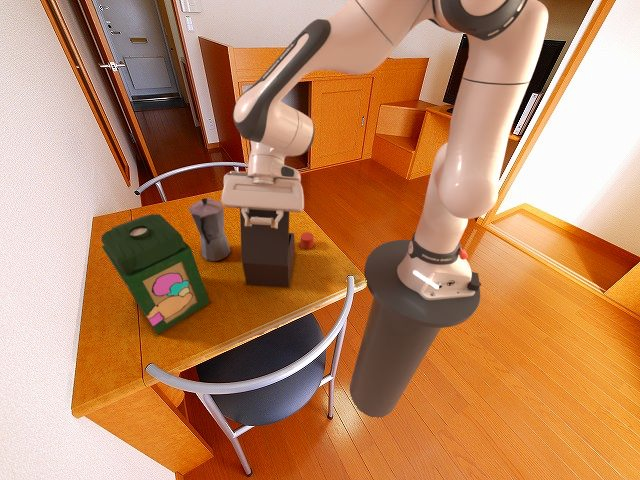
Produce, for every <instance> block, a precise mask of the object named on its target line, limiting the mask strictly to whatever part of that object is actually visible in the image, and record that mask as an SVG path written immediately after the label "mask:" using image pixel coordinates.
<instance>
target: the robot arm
mask: <svg viewBox="0 0 640 480" xmlns="http://www.w3.org/2000/svg"><path fill="white" fill-rule="evenodd" d="M425 20H426V21H427V20H428V21H429V22H431V23H433V24H434V25H435V26H438V27H439V28H440V29H444V30H445V31H448V32H450V33H453V34H465V35H466V36H467V39H468V55H467V57H468V58H467V61H466V64H465V66H464V70H463V74H462V77H461V81H460V84H459V88H458V90H457V91H458V92H457V95H456V99H455V102H454V105H453V109H452V113H451V118H450V122H449V132H448V138H447V142H445V143H444V144H442V145H441V146H440V147H439V148H438V150H437V151H436V154H435V156H434V160H433V164H432V169H431V173H430V176H429V179H428V185H427V189H426V193H425V198H424V202H423V203H424V204H423V208H422V210H421V215H420V218H419V221H418V224H417V228H416V230H415V231H414V233H413V234H412V237H411V239H410V240H411V241H410V244H409V248H408V252H407V254H406V256H405V258H404V259H403V261H402V262H401V263H400V264H399V266H398V268H397V274H398V277H399V279H400V280H401V281H402V283H403V284H405V285H406V286H407V287H408V288H410V289H412V290H414V291H415V292H417V293H419V294H420V295H421V296H422V297H423V298H424V299H426V300H439V299H449V298H459V297H469V296H473V295H474V293H475V291H476V292H477V290H478V289H479V288H480V287H482V283H481V281H480V277H479V273H478V272H475V271H472V269H471V266H470V263H469V262H468V258H469V255H468V253H467V251H466V250H465V249H463V246H462V244H461V242H460V241H461V239H462V237H463V235H464V232H465V230H466V228H467V227H468V222H469V220H471V219H476V218H480V217H482V216H484V215H486V214H487V213H488V212H490V211H492V209H493V208H494V207H495V205H496V204H497V202H498V198H499V185H500V184H499V183H500V176H501V173H502V168H503V164H504V160H505V155H506V152H507V151H506V150H507V146H508V141H509V138H510V134H511V130H512V127H513V124H514V121H515V118H516V116H517V114H518V111H519V109H520V106H521V104H522V102H523V99H524V97H525V95H526V92H527V89H528V87H529V84H530V83H531V82H530V81H531V79H532V77H533V74H534V72H535V69H536V66H537V63H538V61H539V58H540V54H541V51H542V48H543V44H544V40H545V37H546V31H547V27H548V23H549V11H548V9H547V7H546V5H545V4H544V3H542V1H539V0H348V1H347V3H346V4H345V5H344V6H343V7H342V8H340V9H339V10H338V11H337V12H336V13H333V15H331V16H329V17H327V18H325V19H322V18H317V19H314V20H313V21H311V22H310V23H309V24H308V25H307V26H306V27H305V28H303V30H301V32H300V33H298V35H297V36H296V37H295V38H294V39H293V40H292V41H291V42H290V43H289V45H287V47H286V48H285V49H284V50H283V51H282V52H281V53H280V55H279V56H278V57H277V58H276V59H275V60H274V62H273V63H272V64H271V65H270V66H269V67H268V69H267V70H265V72H264V73H263V74H262V75H261V76H260V78H258V79H257V81H256V82H254V83H253V84H252V85H250V86H249V87H248V88H247V89H246V90H244V92H242V94H241V95H240V96H239V97H238V98H237V101H236V102H235V105H234V108H233V111H232V112H233V113H232V119H233V122H234V125H235V128H236V129H237V131H238V133H239V135H240V136H241V137H242V138H243V139H244V140H247V141H250V148H251V149H250V150H251V151H250V154H249V156H248V165H247V171H236V170H230V171H229V172H227V173H226V174H224V176H223V189H222V191H221V198H220V203H221V205H222V206H223V207H225V208H227V209H237V210H238V209H239V210H240V209H241V212H242V214H243V216H244V219H245V227H252V224H251V223H250V219H249V218H248V215H247V213H249V209H254V210H270V211H277V212H276V214H277V215H278V216H277V218H276V219H275V221H271V228H272V229H278V222H279V221H280V219H281V218H282V217H283V211H285V212H289V213H302V212H303V211H304V210H305V195H304V188H303V186H302V183H301V182H302V175H301V173H300V171H299V170H298V169H296V168H294V167H291V166H289V165H286V164H285V159H286V157H298V156H299V157H300V156H302V155H304V154H306V153H307V152H308V151H309V150H310V149H311V148H312V145H313V143H314V139H315V133H316V132H315V131H316V130H315V124H314V121H313V120H312V118H311V117H309V116H308V115H306V114H304V112H301V111H300V110H297V109H296V108H294V107H291V106H290V105H288V104H286V103H285V102H283V101H282V100H283V98H285V97H286V96H287V95H288V93H289V92H291V90H292V89H293V88H294V87H295V86H296V85H297V84H298V83H299V82H300V81H301V80H302V79H303V78H304V77H305V76H307V75H308V74H311V73H314V72H317V71H331V72H337V73H341V74H345V75H351V76H361V75H367V74H370V73H372V72H373V71H374V70H376V69H377V68H379V67H380V66H381V65H382V64H383V63H384V62H385V61H386V60H387V59H388V57H390V55H391V54H392V53H393V52H394V50H396V48H397V47H398V46H399V45H400V44H401V42H402V41H403V40H404V38H406V36H407V35H408V34H409V32H411V31H412V30H413V29H414V28H415V27H416V26H417V25H419V24H420V23H422V22H423V21H425ZM431 295H432V296H431Z"/></svg>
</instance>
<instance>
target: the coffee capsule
mask: <svg viewBox="0 0 640 480" xmlns="http://www.w3.org/2000/svg"><path fill="white" fill-rule="evenodd" d="M314 238H315V236H314V234H313V233H312V232H309V231H305V232H303V233H301V234H300V247H301V248H302V249H303V250H311V249H312V248H313V247H314Z"/></svg>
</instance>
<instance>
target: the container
mask: <svg viewBox="0 0 640 480" xmlns="http://www.w3.org/2000/svg"><path fill="white" fill-rule="evenodd" d="M101 243H102V246H101V248H102V249H103V251H104V253H105V254H106V256H107V258H108V259H109V261H110V262H111V264H112V265H113V267H114V269H115V270H116V272H117V273H118V275H119V277H120V278H121V280H122V282H123V283H124V285H125V286H126V288H127V289H128V291H129V293H130V294H131V296H132V297H133V299H134V301H135V302H136V304H137V305H138V307H139V308H140V310H141V312H142V313H143V314H144V317H146V319H147V320H148V322H149V323H150V325H151V326H152V328H153V329H154V331H155V333H156V334H157V335H159V336H160V335H161V334H162V333H164V332H165V331H167V330H168V329H170V328H172V327H173V326H175V325H176V324H178V323H179V322H181V321H183V320H184V319H186V318H187V317H189V316H191V315H192V314H195V312H197V311H198V310H200V309H201V308H203V307H205V306H206V305H208V304H210V303H211V302H210V300H209V299H210V298H209V297H208V293H207V291H206V288H205V285H204V282H203V279H202V276H201V272H200V271H199V268H198V265H197V262H196V259H195V256H194V254H193V253H194V252H193V250H192V248H191V247H190V245H189V244H188V243H187V242H186V241H185V240H184V238H183V236H182V234H181V233H180V232H178V230H177V229H175V228H174V227H173V225H171V223H170V222H169V221H168V220H166V218H165V217H163V216H162V215H161V214H159V213H156V214H155V213H152V214H148V215H143V216H139V217H137V218H135V219H132V220H130V221H126V222H124V223H121V224H119V225H116V226H113V227H112V228H111V229H109V230H106V231H105V232H104V233H103V234H102V235H101Z"/></svg>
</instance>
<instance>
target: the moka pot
mask: <svg viewBox="0 0 640 480" xmlns="http://www.w3.org/2000/svg"><path fill="white" fill-rule="evenodd" d="M188 210H189V212H190V215H191V217H192V219H193V221H194V224H195V227H196V228H197V231H198V233H199V236H200V248H201V256H202V258H204V259H205V260H206V261H210V262H218V261H221V260H223V259H225V258H227V257H228V256H229V255H230V253H231V246H230V244H229V243H230V242H229V241H228V238H227V236H226V232H225V229H224V228H225V216H224V214H225V212H224V205H223V204H222V202H221V201H220V200H214V199H213V198H212V197H210V198H209V197H208V198H207V197H206V198H205V197H204V198H201V200H199V201H195V202H194V203H193V204H192V205H191V206H189V208H188Z"/></svg>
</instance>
